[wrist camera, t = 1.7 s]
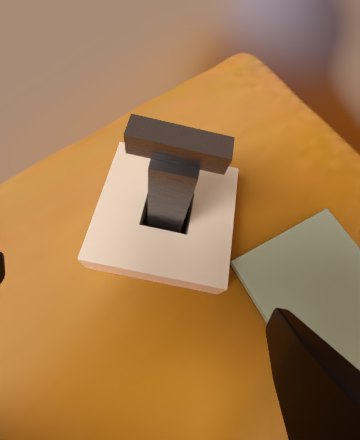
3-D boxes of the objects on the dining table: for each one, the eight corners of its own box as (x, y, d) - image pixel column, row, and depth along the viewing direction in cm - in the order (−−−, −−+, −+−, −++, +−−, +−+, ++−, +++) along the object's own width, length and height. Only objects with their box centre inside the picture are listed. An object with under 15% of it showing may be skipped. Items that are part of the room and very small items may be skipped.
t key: (192, 241, 24) (230, 169, 13) (132, 229, 24) (120, 144, 13) (197, 214, 25) (235, 128, 14) (139, 202, 25) (134, 105, 14)
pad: (412, 320, 24) (418, 320, 23) (316, 404, 20) (321, 406, 19) (323, 210, 27) (327, 208, 27) (229, 262, 24) (231, 261, 23)
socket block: (217, 294, 22) (227, 289, 19) (86, 267, 22) (77, 259, 19) (229, 184, 27) (238, 168, 24) (122, 160, 27) (119, 141, 24)
